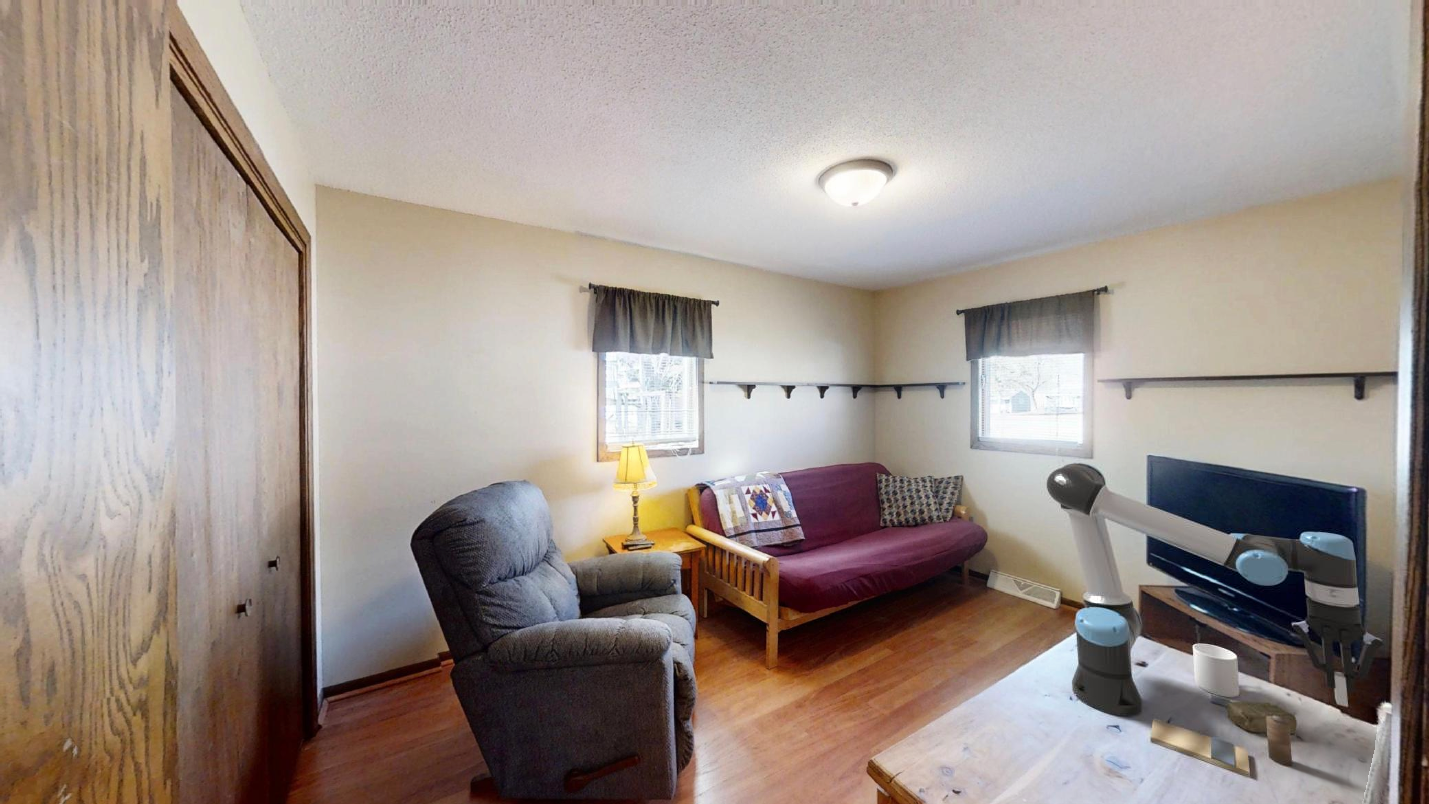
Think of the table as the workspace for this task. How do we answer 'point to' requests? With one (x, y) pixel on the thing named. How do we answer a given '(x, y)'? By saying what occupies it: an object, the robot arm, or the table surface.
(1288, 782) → the table surface
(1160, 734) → the flat metallic slab
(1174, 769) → the table surface
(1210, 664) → the mug
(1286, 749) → the brown wooden cylinder
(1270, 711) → the stone block
